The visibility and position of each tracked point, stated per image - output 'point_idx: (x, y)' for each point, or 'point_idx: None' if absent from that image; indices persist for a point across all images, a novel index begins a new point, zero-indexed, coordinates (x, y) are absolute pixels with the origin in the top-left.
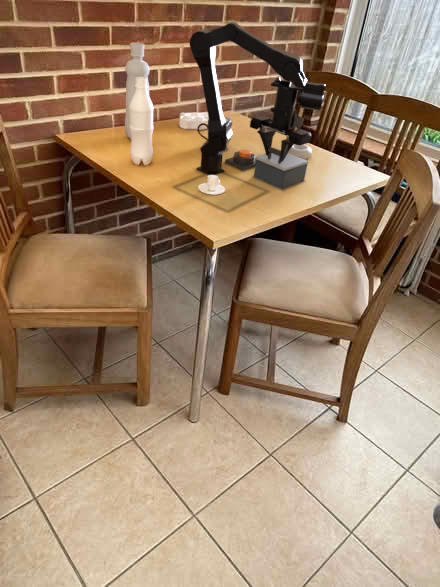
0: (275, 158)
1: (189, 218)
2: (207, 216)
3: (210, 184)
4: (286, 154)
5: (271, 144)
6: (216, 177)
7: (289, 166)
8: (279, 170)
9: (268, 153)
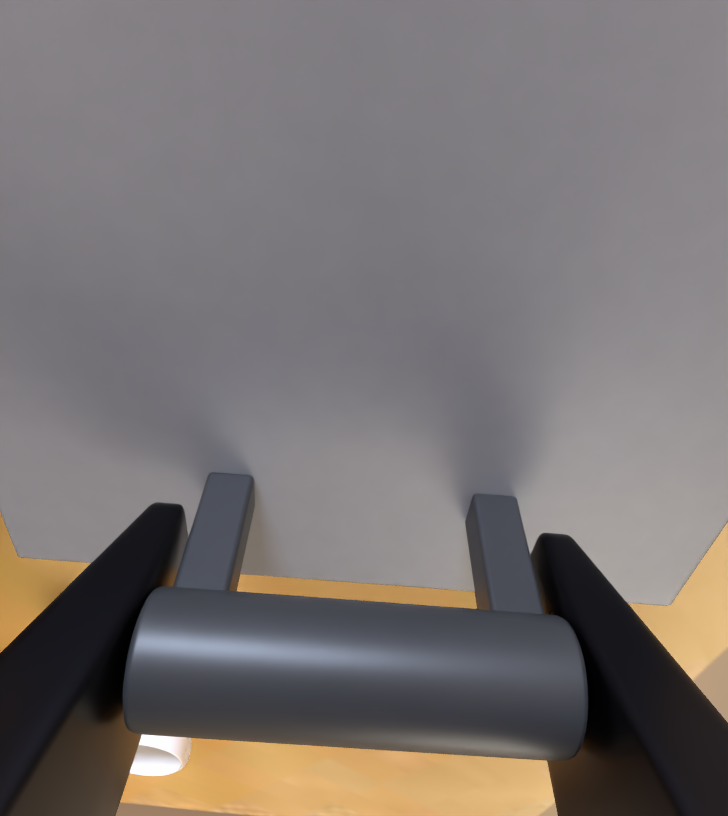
0: (291, 377)
1: (340, 811)
2: (381, 786)
3: (189, 753)
4: (671, 692)
5: (66, 730)
6: (144, 735)
7: (716, 501)
8: None
9: (175, 573)
